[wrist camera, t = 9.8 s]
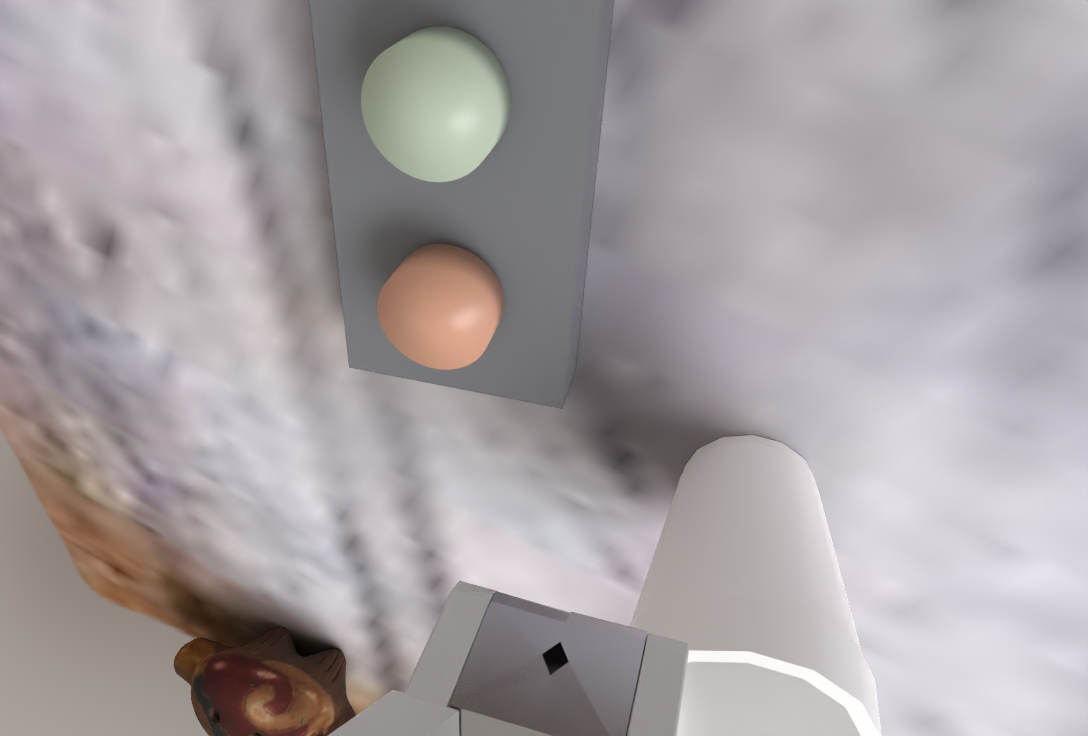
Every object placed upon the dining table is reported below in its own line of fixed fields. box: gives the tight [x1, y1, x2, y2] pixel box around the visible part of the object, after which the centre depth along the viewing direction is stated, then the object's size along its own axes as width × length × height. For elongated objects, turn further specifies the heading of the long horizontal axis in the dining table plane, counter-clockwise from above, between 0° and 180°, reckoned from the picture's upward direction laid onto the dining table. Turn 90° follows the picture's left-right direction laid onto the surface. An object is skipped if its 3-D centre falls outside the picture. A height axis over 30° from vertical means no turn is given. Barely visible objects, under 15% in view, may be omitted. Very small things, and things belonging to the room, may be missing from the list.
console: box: [309, 0, 614, 409], centre depth 29 cm, size 10×26×3 cm, turn 177°
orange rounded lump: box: [377, 244, 504, 370], centre depth 32 cm, size 5×5×5 cm
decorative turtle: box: [174, 627, 356, 736], centre depth 54 cm, size 10×15×8 cm, turn 82°
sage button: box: [361, 26, 511, 182], centre depth 27 cm, size 5×5×5 cm
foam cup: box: [630, 435, 882, 736], centre depth 33 cm, size 10×9×13 cm
